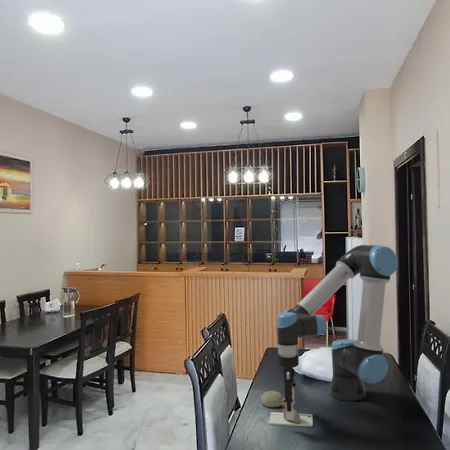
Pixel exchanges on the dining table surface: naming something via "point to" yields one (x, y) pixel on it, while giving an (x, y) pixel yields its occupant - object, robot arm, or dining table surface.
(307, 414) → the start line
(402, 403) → the dining table surface
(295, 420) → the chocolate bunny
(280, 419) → the mat
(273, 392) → the sea urchin shell
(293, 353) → the robot arm
